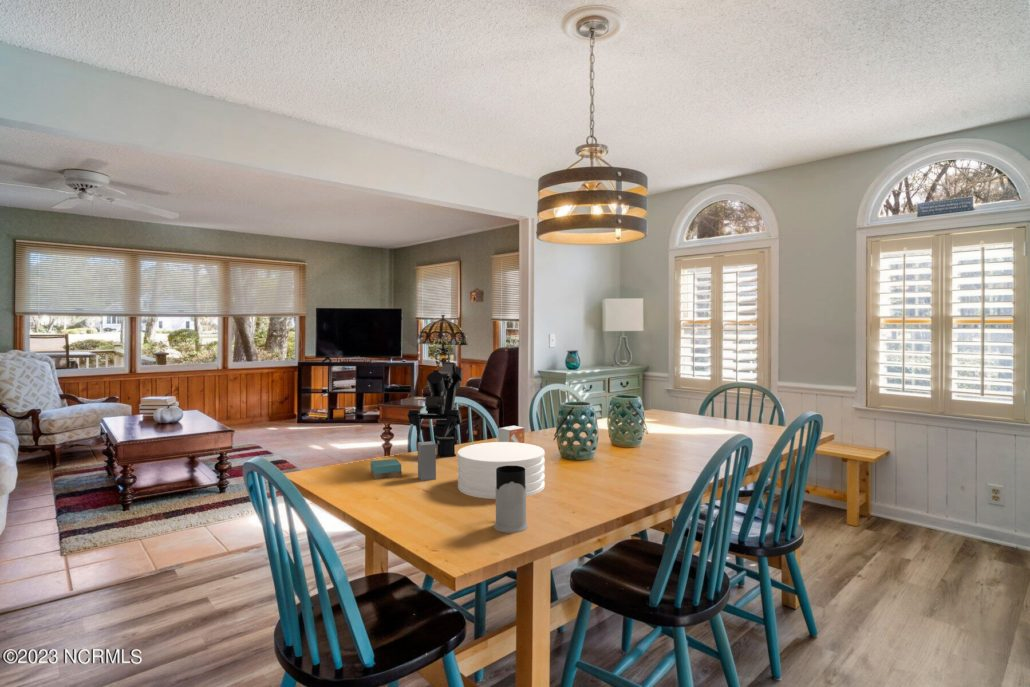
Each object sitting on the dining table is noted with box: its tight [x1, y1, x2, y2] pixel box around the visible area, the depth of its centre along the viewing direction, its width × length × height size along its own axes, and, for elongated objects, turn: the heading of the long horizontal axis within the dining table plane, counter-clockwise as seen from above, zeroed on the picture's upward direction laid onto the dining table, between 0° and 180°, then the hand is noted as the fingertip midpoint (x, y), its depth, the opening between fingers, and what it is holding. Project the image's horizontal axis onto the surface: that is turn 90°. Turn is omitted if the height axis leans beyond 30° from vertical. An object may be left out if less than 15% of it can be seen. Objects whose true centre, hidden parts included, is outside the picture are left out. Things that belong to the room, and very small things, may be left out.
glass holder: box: [493, 466, 529, 534], centre depth 150 cm, size 9×14×15 cm, turn 5°
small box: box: [497, 425, 525, 443], centre depth 216 cm, size 8×6×13 cm
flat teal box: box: [370, 468, 403, 481], centre depth 198 cm, size 9×9×2 cm
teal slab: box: [369, 458, 402, 474], centre depth 198 cm, size 9×9×2 cm
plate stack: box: [457, 441, 546, 500], centre depth 184 cm, size 28×28×12 cm
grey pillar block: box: [417, 440, 437, 482], centre depth 193 cm, size 5×5×12 cm
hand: (431, 436), depth 200 cm, fingers open, 9 cm apart
